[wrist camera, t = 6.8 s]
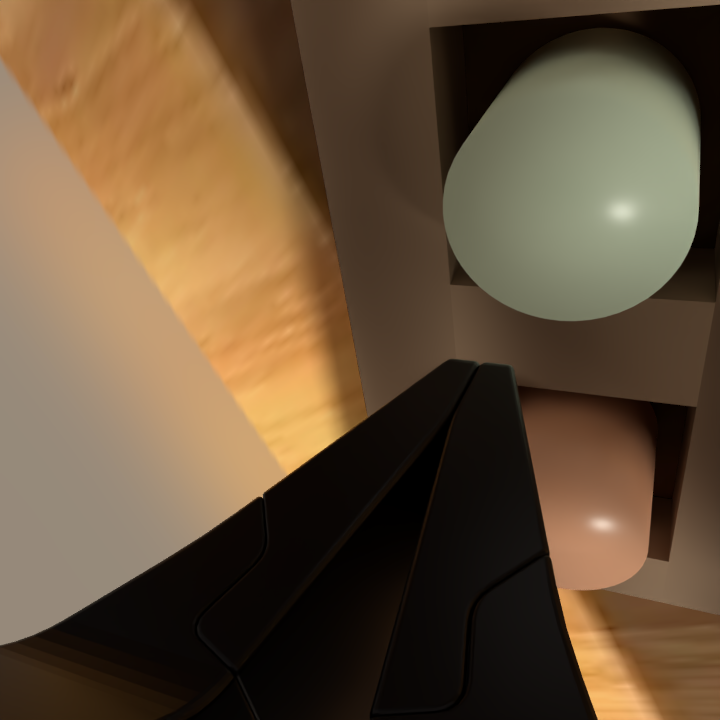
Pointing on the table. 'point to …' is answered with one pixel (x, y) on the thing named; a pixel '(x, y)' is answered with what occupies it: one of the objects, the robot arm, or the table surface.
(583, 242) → the button sage
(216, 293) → the table surface
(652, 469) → the button rust
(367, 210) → the wooden compartment tray
